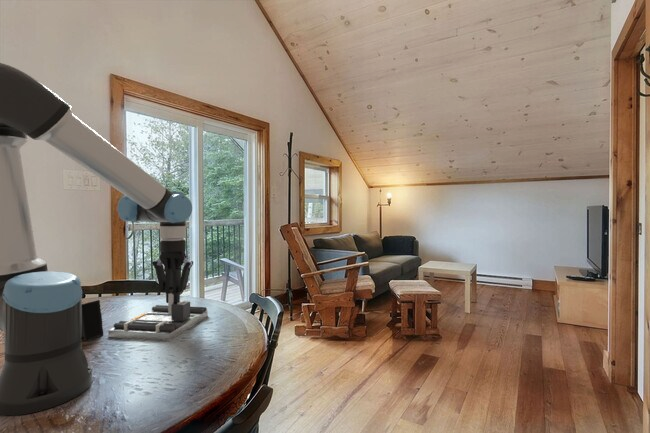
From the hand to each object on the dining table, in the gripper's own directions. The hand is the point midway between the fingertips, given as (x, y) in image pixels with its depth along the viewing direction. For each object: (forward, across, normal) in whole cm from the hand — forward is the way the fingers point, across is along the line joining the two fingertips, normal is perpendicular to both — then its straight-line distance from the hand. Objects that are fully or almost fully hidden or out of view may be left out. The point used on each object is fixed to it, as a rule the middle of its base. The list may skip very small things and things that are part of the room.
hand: (172, 313), depth 105 cm
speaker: (+4, +19, +12) cm, 23 cm away
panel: (+4, +3, +1) cm, 5 cm away
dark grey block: (+2, -3, 0) cm, 3 cm away
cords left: (+2, +3, +9) cm, 10 cm away
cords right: (+2, +3, -8) cm, 9 cm away
